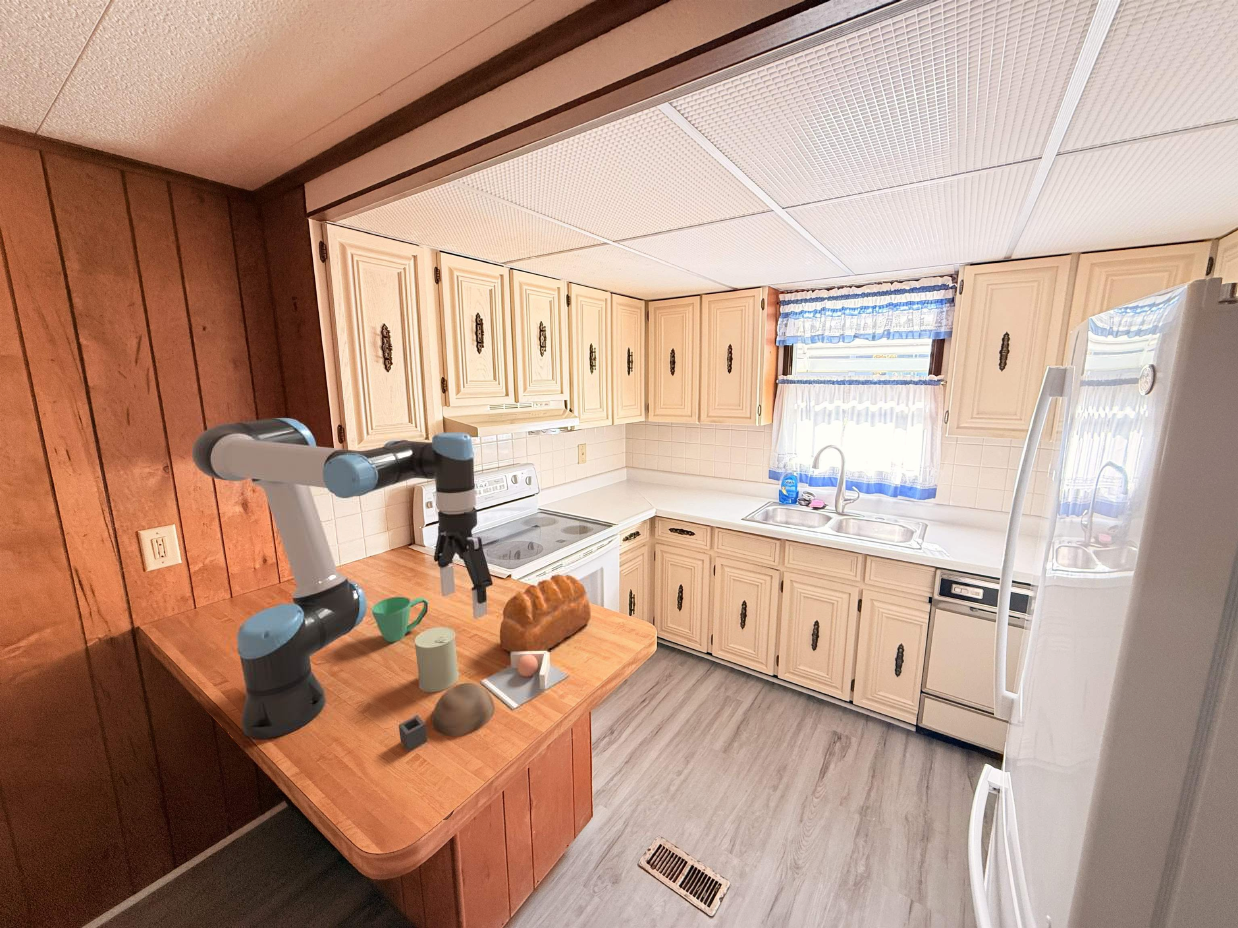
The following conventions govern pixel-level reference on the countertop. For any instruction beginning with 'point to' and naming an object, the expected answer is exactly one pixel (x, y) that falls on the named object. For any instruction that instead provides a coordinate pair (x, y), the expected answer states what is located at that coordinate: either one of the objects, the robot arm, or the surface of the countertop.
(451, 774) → the countertop surface
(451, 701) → the dome
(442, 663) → the can
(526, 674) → the ball
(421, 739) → the dark grey hollow cube
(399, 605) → the mug
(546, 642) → the bread
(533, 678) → the grey walled tray
